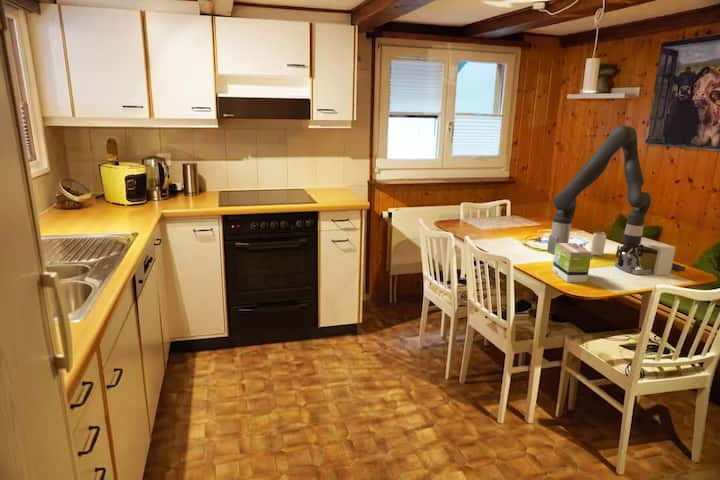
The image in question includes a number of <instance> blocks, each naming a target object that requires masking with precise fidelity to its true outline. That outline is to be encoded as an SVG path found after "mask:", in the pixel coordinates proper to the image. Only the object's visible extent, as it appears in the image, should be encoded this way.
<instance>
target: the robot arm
mask: <svg viewBox="0 0 720 480" xmlns="http://www.w3.org/2000/svg"><path fill="white" fill-rule="evenodd" d="M637 135H638V134H637V131H636V129H635V128H634V127H632V126H629V125H619V126H617V127H615V128H614V129H612V131H611V132H610V134H609V135H607V136H608V137H607V138H606V139H605V140H604V142H603V143H602V144H601V146H600V147H599V148H598V149H597V151H595V152H594V153H593V154H592V156H591V157H590V158H589V159H588V160H587V161H586V163H584V165H583V166H582V167H581V168H580V169H579V170H578V172H577V173H576V174H575V175H574V177H573V178H572V179H571V181H570V182H569V183H568V184H567V185H566V186H565V187H564V188H563V189H561V191H560V192H559V193H558V194H556V196H555V197H554V199H553V206H554V208H555V209H556V212H555V213H554V215H553V218H552V227H551V231H550V234H549V235H548V242H547V249H546V252H547V253H550V254H552V255H554V254H555V247H556V243H570V242H569V241H570V236H571V228H572V221H573V219H574V216H575V212H576V207H577V197H578V196H579V195H580V194H581V193H582V192H583V191H584V190H586V189H587V188H588V187H589V186H590V185H592V184H594V182H596V181H597V180H598V179H599V177H600V176H601V175H602V174H603V173H604V172H605V171H606V169H607V167H608V165H609V164H610V160H611V159H612V157H613V156H614V155H615V153H616V152H618V151H619V150H620V149H621V150H622V152H623V156H624V157H623V159H624V169H623V171H624V177H625V181H626V185H627V190H626V192H627V194H626V195H627V201H628V202H627V203H628V204H629V206H630V207H632V208H633V209H632V210H631V211H630V212H629V213H628V215H627V221H626V225H625V228H624V233H623V238H622V239H623V240H622V242H623V245H620V244H618V245H617V249H616V252H615V253H616V254H615V257H616V258H618V261H617V262H618V265H619V266H621V267H622V266H623V263H624V258H625V257H626V256H628V254H633V256H634V257H635V258H637V261H638V258H639V257H640V256H641V257H642V255H643V248H644V245H642V244H640V243H641V238H642V237H643V233H644V232H643V231H644V224H645V220H646V219H645V218H646V215H647V214H648V212H649V209H650V206H651V203H652V197H651V194H650V193H648V192H646V191H642V187H643V186H644V184H645V180H644V176H643V172H642V171H643V170H642V168H641V163H640V158H639V149H638V136H637ZM639 251H640V254H639ZM622 255H623V257H622ZM636 264H637V262H636Z"/></svg>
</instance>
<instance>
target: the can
mask: <svg viewBox="0 0 720 480" xmlns="http://www.w3.org/2000/svg"><path fill="white" fill-rule="evenodd" d="M591 239H592V240H591V246H590V250H589V251H590V252H592V253H591V256H592V255H593V256H597V257H601V256H603V255H604V252H605V246H606V240H607V233H606V232H603V231H594V233H593V234H592V238H591Z"/></svg>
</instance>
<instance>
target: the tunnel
mask: <svg viewBox="0 0 720 480" xmlns="http://www.w3.org/2000/svg"><path fill="white" fill-rule="evenodd" d="M640 244H642V245H644V248H645V247H647V248H648V249H651V250H657V251H658V254H657V259H656V263H655V268H654V273H652V274H653V275H654V276H662V275H670V274H671V272H672V271H671V267H672V263H674V256H675V253H676V246H673V245H671V244H666V243H663V242H660V241H658V240H655V239H650V238H647V237H643V236H642V238H641V243H640ZM645 249H646V248H645ZM639 254H640V251H639ZM628 255H629V256H632V257H634V256H633V254H628ZM639 258H640V257H639ZM639 258H638V260H639Z"/></svg>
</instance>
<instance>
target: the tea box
mask: <svg viewBox="0 0 720 480" xmlns="http://www.w3.org/2000/svg"><path fill="white" fill-rule="evenodd" d="M591 253H592V252H590V250H588V249H586V248H585V247H582V246H581V245H579V244H578V243H577V242H568V243H556V247H555V254H553V255H554V256H553V263H552V270H551V271H552V273H554V274H556V276H559V278H561V280H563V281H564V282H566V283H571V282H574V283H576V282H580V283H588V278H589V272H590V271H589V270H590V265H591V264H590V263H591V258H592V254H591ZM571 284H572V283H571Z"/></svg>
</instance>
